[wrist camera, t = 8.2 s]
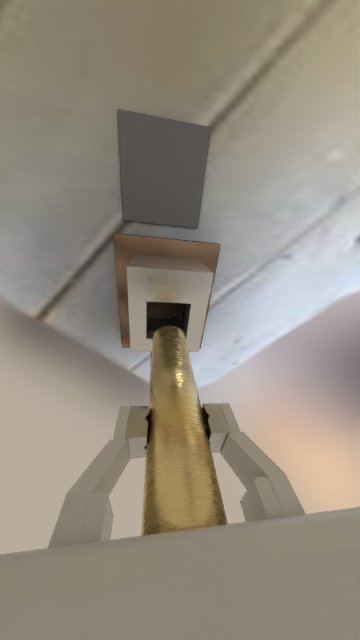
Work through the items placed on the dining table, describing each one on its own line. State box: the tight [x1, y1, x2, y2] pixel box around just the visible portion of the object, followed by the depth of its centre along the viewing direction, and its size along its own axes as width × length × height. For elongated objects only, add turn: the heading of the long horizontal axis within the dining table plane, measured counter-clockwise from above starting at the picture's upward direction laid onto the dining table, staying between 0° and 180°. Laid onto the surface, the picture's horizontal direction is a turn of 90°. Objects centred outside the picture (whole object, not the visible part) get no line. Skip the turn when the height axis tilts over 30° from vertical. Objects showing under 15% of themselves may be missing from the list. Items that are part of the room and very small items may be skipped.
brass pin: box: [141, 326, 228, 536], centre depth 9 cm, size 3×3×16 cm
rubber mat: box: [118, 109, 211, 229], centre depth 19 cm, size 9×9×1 cm
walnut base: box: [113, 233, 221, 349], centre depth 26 cm, size 16×13×2 cm
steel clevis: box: [127, 254, 214, 358], centre depth 22 cm, size 14×8×7 cm, turn 175°
